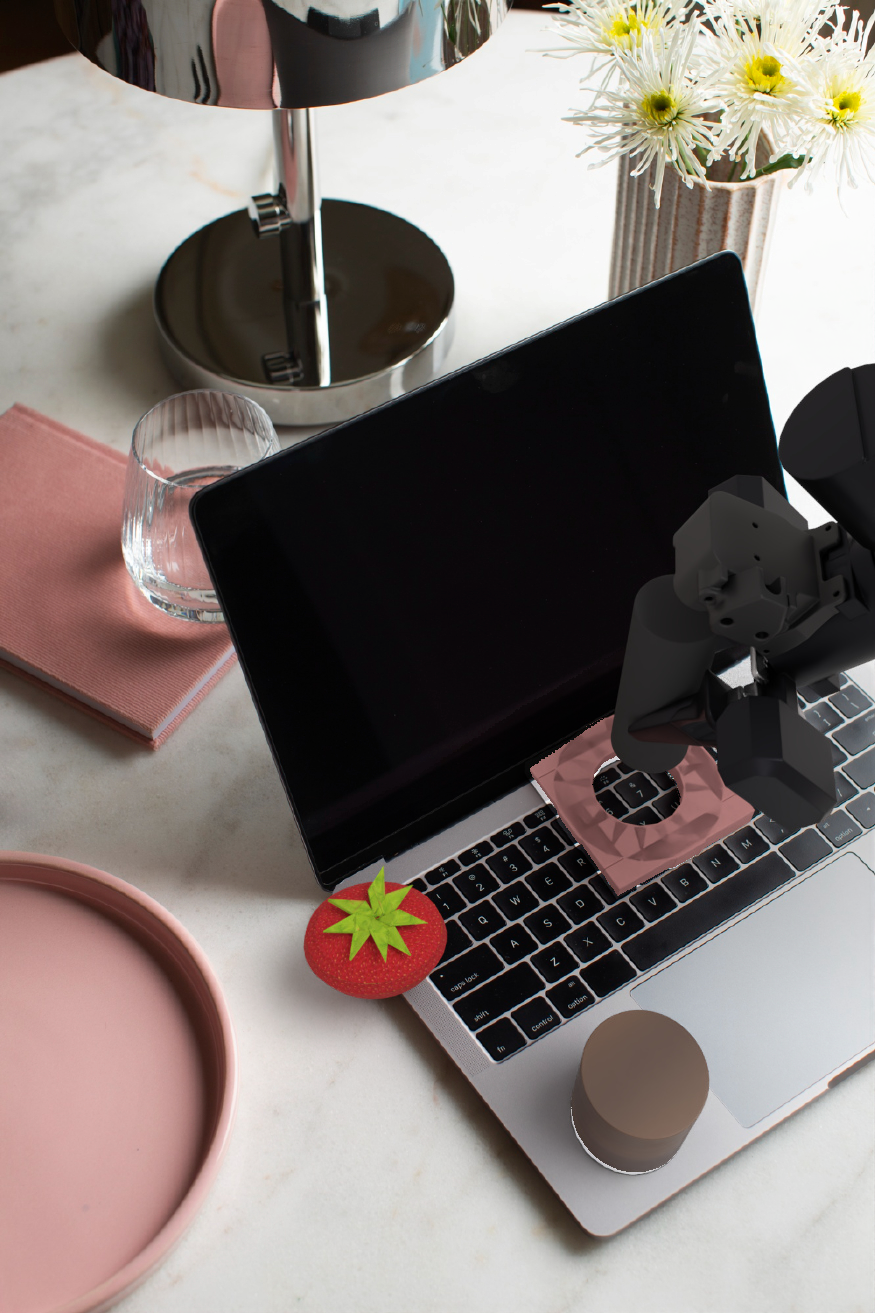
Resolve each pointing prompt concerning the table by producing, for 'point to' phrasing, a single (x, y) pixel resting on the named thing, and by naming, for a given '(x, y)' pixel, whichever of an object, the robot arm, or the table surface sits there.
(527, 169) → the table surface
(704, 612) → the cylindrical post
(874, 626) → the robot arm
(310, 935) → the strawberry
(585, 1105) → the cylinder
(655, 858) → the base pad
